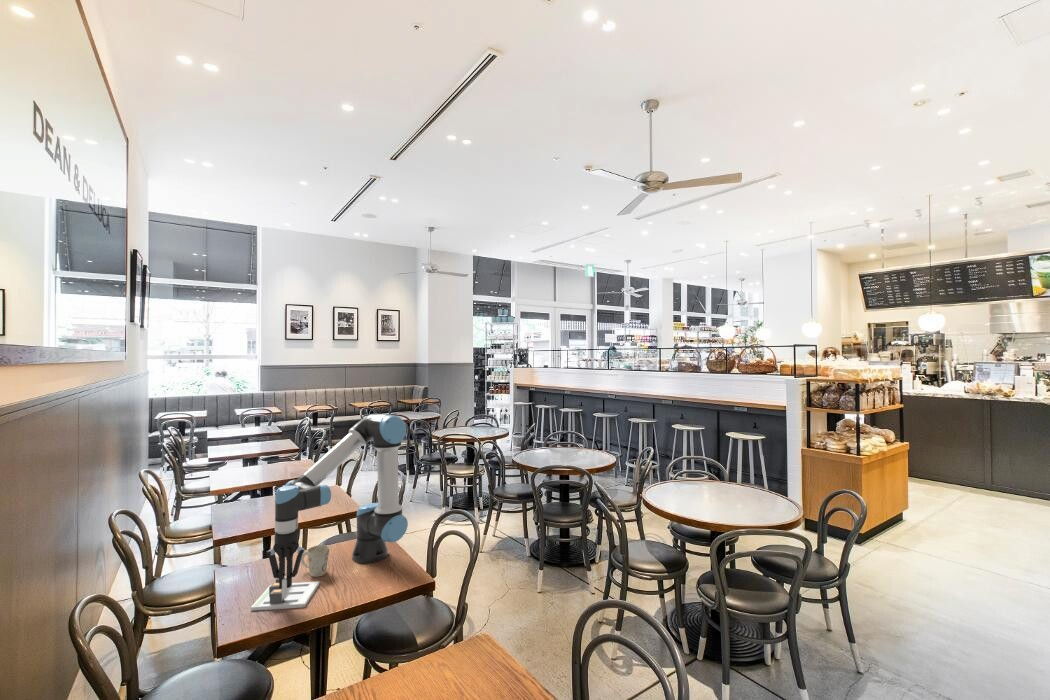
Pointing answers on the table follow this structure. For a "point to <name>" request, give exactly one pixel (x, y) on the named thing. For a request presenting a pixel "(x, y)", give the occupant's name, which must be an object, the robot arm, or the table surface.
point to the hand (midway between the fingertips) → (285, 596)
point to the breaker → (276, 596)
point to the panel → (295, 599)
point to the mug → (317, 559)
